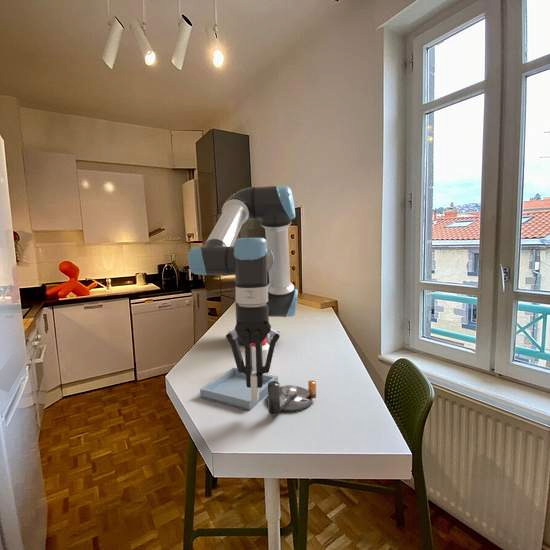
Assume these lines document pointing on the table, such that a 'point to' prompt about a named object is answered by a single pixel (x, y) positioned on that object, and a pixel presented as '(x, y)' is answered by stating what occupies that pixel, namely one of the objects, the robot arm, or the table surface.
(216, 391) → the tray
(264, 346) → the pill bottle
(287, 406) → the crank base
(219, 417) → the table surface
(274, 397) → the crank
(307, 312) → the table surface
